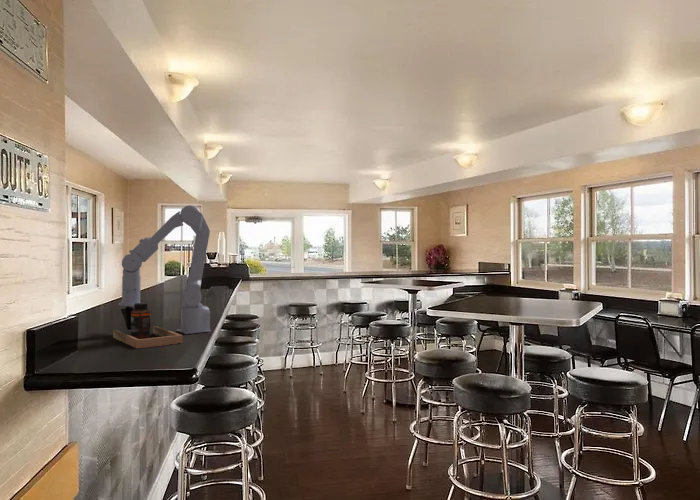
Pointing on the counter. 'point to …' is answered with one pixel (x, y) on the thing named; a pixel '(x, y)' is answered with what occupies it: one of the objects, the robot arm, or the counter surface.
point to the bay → (165, 338)
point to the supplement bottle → (140, 321)
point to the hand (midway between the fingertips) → (130, 329)
